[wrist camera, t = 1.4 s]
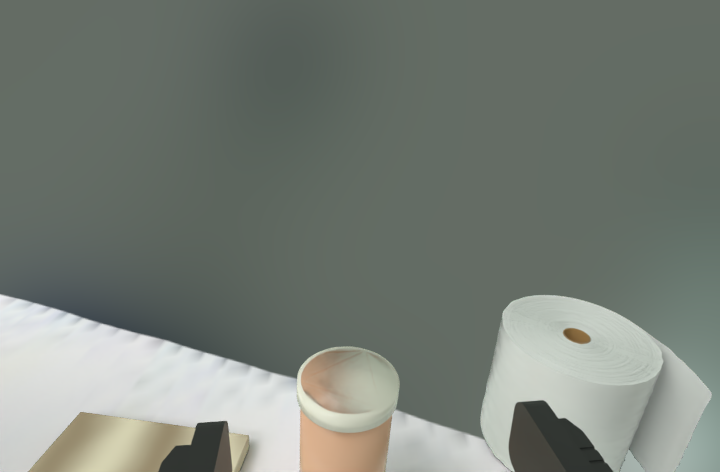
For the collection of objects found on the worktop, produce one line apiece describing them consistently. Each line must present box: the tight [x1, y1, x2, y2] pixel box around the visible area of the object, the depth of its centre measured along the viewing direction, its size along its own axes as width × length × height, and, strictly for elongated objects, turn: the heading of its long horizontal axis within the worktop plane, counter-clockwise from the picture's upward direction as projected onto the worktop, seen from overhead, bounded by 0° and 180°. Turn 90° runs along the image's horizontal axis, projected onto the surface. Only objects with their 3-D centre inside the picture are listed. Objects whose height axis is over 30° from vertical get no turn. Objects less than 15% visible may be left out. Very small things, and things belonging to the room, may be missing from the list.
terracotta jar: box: [297, 347, 399, 472], centre depth 27 cm, size 5×5×12 cm
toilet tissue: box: [481, 295, 712, 472], centre depth 36 cm, size 11×12×10 cm
